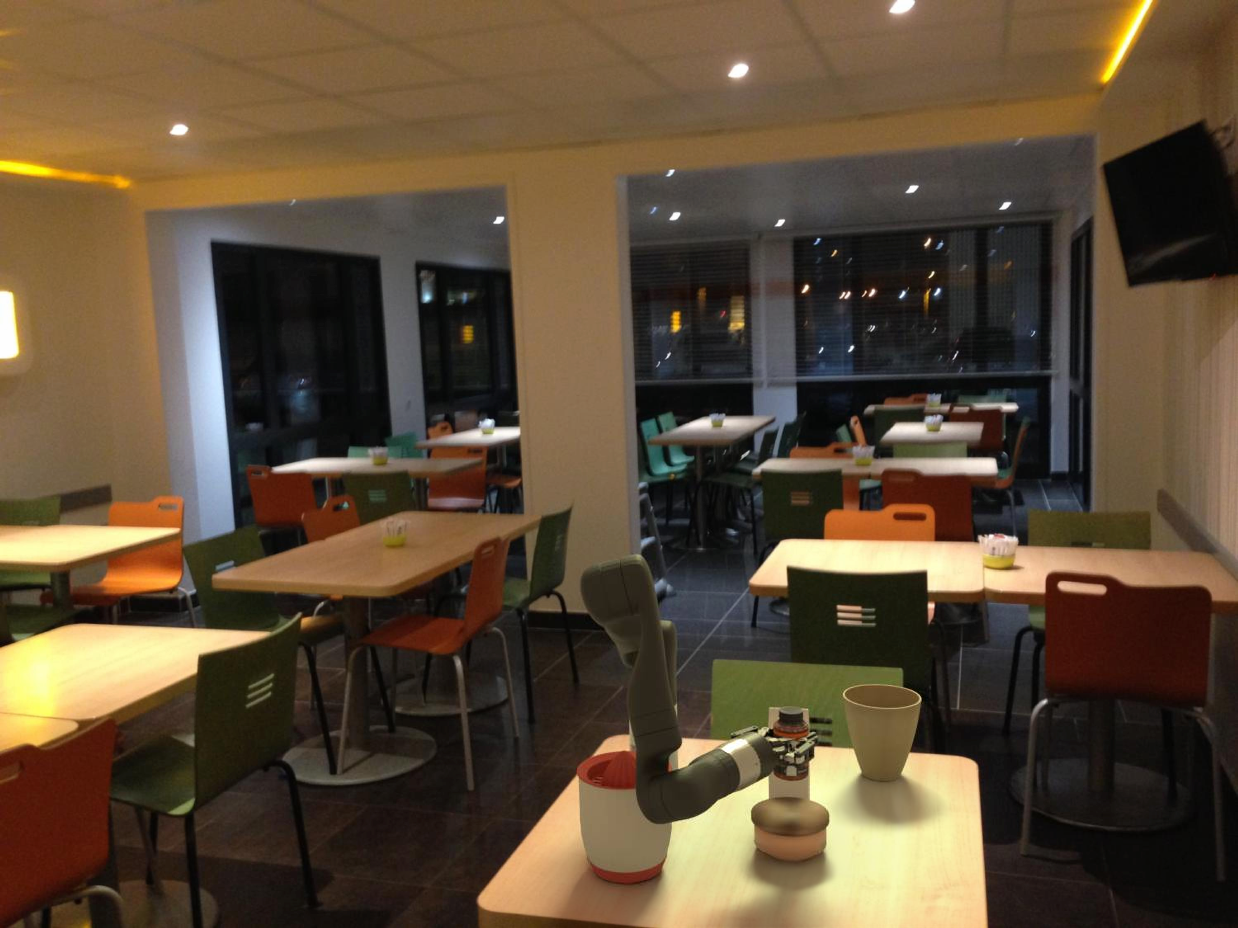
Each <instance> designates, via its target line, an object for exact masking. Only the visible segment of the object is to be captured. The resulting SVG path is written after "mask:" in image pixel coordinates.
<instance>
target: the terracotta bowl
mask: <svg viewBox="0 0 1238 928" xmlns="http://www.w3.org/2000/svg"><path fill="white" fill-rule="evenodd" d="M753 829H754V830H753V837H754V839H753V841H754V844H755V846H756V847H757V849H758V850H760V851H761V852H763V853H765V854H767V855H769V856H771V858H774V859H776V860H780V861H784V862H803V861H805V860H808V859H810V858H812V857H814V856H817V855H819V854H821V853H822V852H823V851H825V849H826V848H827V842H828V841H827V827H826V828H825V829H824V830H822V831H820V832H818V833H815V834H812V835H807V836H781V835H776V834H771V833H768V832H765V831H763V830H761V829H759V828H758V827H756V826H755V825H754V824H753Z"/></svg>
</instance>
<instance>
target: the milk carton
mask: <svg viewBox="0 0 1238 928" xmlns="http://www.w3.org/2000/svg"><path fill="white" fill-rule="evenodd" d="M780 708H781V707H768V724H767V725H768V726H767V728H770V727H772V726H773V725H774V723H775V721H777V720H778V719H779V709H780ZM801 709H802V710H803V719H804V721H805V722H806V723H807V724H808V726H809V727H810V716H809V709H808V708H801ZM810 764H811V763H810V761H809V771H808V776H807V777H806V778H805V779H802V780H799V781H787V780H782V779H780V778H778V777H776V776H775V775H774V773H773V771H772V773H771V774H770V775H769V776H767V778H768V799H771V798H777V797H796V798H803V799H808V800H811V789H810V788H811V787H810V785H811V781H810V779H811V777H810V776H811V775H810V774H811V773H810V770H811V769H810Z"/></svg>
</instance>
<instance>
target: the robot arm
mask: <svg viewBox="0 0 1238 928" xmlns="http://www.w3.org/2000/svg"><path fill="white" fill-rule="evenodd" d="M651 572H652V571H651V569H650V566H649V564H648V563H647V561H646V559H645V558H644V557H643V556H642V555H641V554H638V553H634V554H629V555H626V556H622V557H618V558H613V559H610V560H606V561H601V562H599V563H595V564H593V565H590V566H588V567H586V568H585V569H584V570H583V572H582V574H581V576H580V583H579V585H580V586H579V587H580V590H579V591H580V595H581V598H582V602H583V605H584V607H585V609H586V611H587V612H588V615H589V616H590V617H591V619H592V620H593V621H594V622H595V623H597V624H598V625H599V626H601V627H603V628H604V630H605V632H606V633H607V635H608V636H609V637H610V639H611V640H612V642H614V644H615V646H616V647H617V651H618V653H619V656H620V660H621V662H622V663H623V665H625V666H626V667H627V668H629V669H632V673H631V675H630V679H629V682H628V686H627V692H626V709H627V717H628V720H629V721H628V723H629V724H628V725H629V727H628V728H629V737H628V741H629V742H628V745H629V746H628V747H629V750H628V751H636V798H637V802H638V805H639V808H640V810H641V812H642V813H643V815H644V816H645V817H646V819H648V820H649V821H650V822H652V823H654V824H666V823H671V822H672V823H675V822H678V821H685V820H690V819H693V818H696V817H699V816H700V815H702V814H704V813H705V812H707V811H708V810H709V809H711V808H712V807H713V806H714V805H715V804H716V803H717V802H718V801H720V800H722V799H725V798H726V797H728V796H730V795H732V794H734V793H736V792H741V791H743V790H744V789H747V788H748V787H750V786H752V785H754V784H756V783H758V782H760V781H762V780H763V779H765V778H768V776H769V775H770V774H771V773H772V771H773V769H774V768H775V766H776V765H777V764H782V763H785V762H786V761H790V762H794V767H795V768H801V767H803V766H804V765H805V764H807V763H808V762H809V761H812V760H813V759H814V758H815V747H817V746H819V735H818V734H819V733H818V732H817V731H816V732H815V731H812V732H809V734H807V735H805V736H803V737H802V738H797V739H793V738H792V737H786V738H780V739H777V738H773V726H772V727H770V728H768V726H767V727H766V726H764V727H761V729H759V726H757V725H752V726H748V727H746V728H743V729H740V730H737V731H734V732H731V733H730V739H729V740H726V741H724V742H723V743H721V744H719V745H717V746H716V747H714V748H713V749H712V750H709V751H708V752H705V753H704V754H701V755H698V756H697V757H695V758H693V760H691V761H690V762H689V763H688V765H686V766H684V767H681V768H679V749H680V748H681V747H682V745H683V736H682V730H681V727H680V722H679V718H678V700H677V698H678V697H677V696H678V695H677V657H678V656H677V654H678V637H677V635H678V634H677V629H676V625H675V624H674V622H672V620H666V619H665V620H664V619H663V620H662V619H661V616H660V615H661V614H660V610H659V609H660V608H659V603H658V598H657V597H658V596H657V591H656V587H655V583H654V578H653V575H652V573H651ZM786 743H788V753H787V745H786ZM797 744H800V748H798V749H796V745H797ZM669 763H670V764H671V766H672V768H673V771H669Z"/></svg>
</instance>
